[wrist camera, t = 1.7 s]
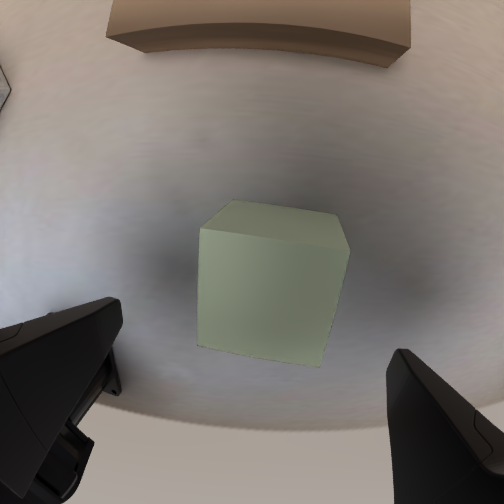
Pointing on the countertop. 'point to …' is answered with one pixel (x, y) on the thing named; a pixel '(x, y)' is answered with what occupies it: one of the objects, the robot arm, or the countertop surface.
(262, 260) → the green cube
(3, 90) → the light bulb box
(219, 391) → the countertop surface
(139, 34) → the walnut slab
